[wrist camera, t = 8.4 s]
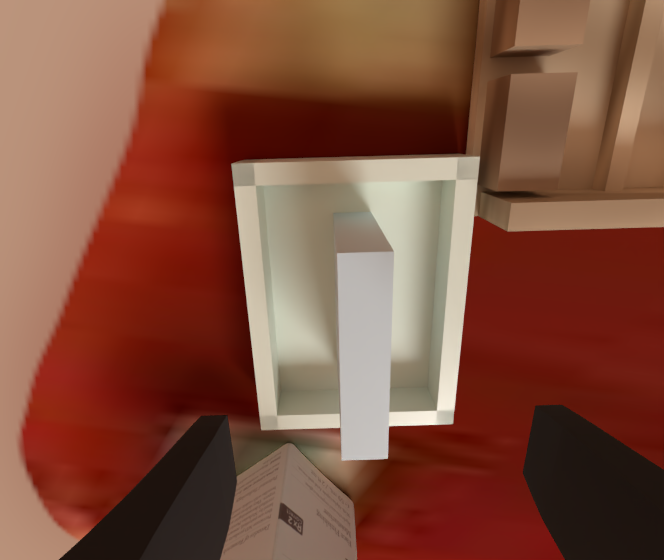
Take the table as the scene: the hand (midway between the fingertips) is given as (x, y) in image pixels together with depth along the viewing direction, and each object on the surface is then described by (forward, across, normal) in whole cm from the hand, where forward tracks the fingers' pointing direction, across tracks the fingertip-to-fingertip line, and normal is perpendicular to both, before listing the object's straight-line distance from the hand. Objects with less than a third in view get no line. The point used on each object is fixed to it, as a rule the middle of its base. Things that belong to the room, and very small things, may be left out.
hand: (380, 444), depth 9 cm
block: (+9, 0, 0) cm, 9 cm away
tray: (+10, 0, 0) cm, 10 cm away
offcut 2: (+9, -6, -7) cm, 13 cm away
